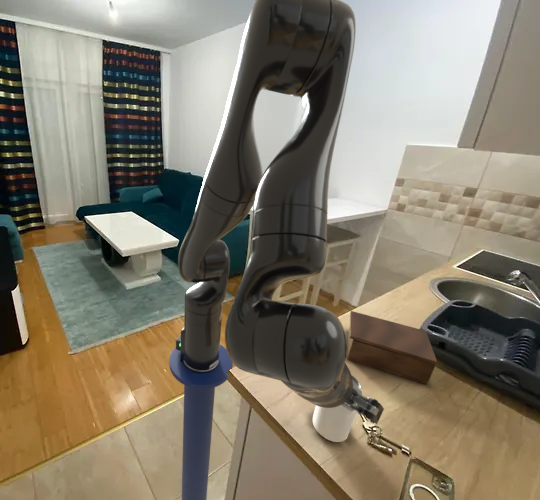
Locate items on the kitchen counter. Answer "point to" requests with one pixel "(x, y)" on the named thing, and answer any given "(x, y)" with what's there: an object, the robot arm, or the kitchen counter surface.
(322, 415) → the can
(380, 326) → the tray cover
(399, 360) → the tray box
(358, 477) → the kitchen counter surface
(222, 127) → the robot arm
